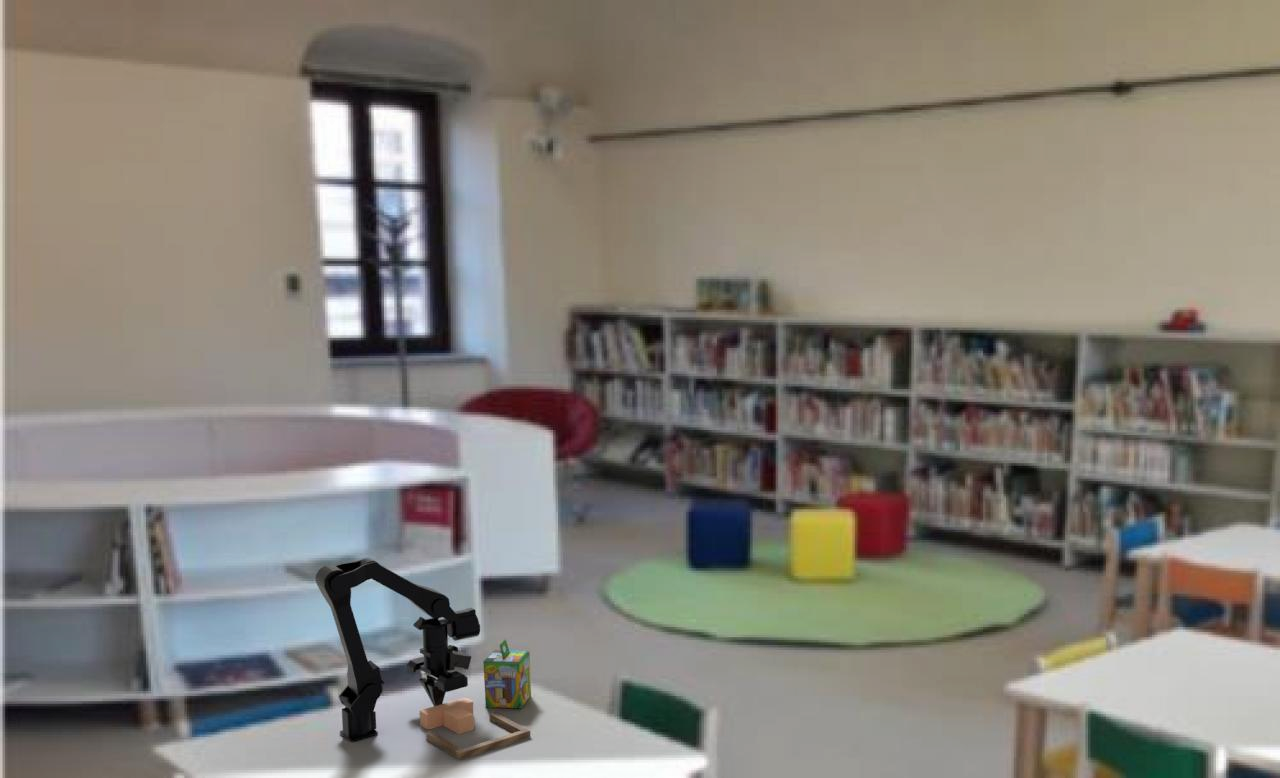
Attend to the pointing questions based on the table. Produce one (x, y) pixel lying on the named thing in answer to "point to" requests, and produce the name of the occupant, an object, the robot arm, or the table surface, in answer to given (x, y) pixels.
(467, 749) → the bay
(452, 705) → the t block
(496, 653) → the chalk box
